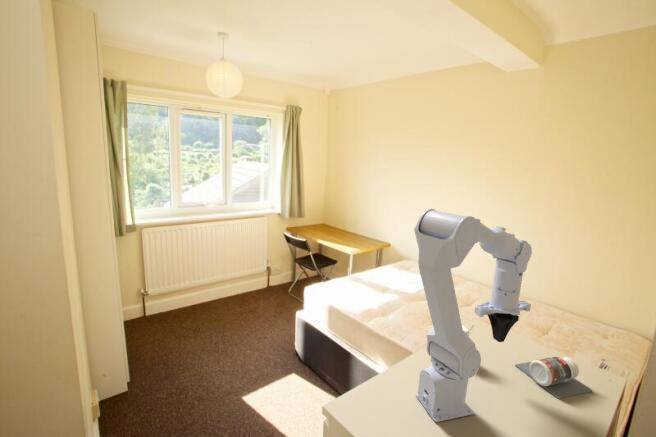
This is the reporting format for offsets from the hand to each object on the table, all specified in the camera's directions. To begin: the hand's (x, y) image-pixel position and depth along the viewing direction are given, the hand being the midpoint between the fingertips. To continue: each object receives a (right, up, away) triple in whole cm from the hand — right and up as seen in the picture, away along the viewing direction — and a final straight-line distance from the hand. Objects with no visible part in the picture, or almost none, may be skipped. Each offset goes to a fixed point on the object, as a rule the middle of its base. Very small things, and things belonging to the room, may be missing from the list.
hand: (498, 339), depth 77 cm
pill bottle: (+9, -8, -1) cm, 12 cm away
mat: (+15, -11, +3) cm, 18 cm away
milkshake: (-6, -9, +10) cm, 14 cm away
